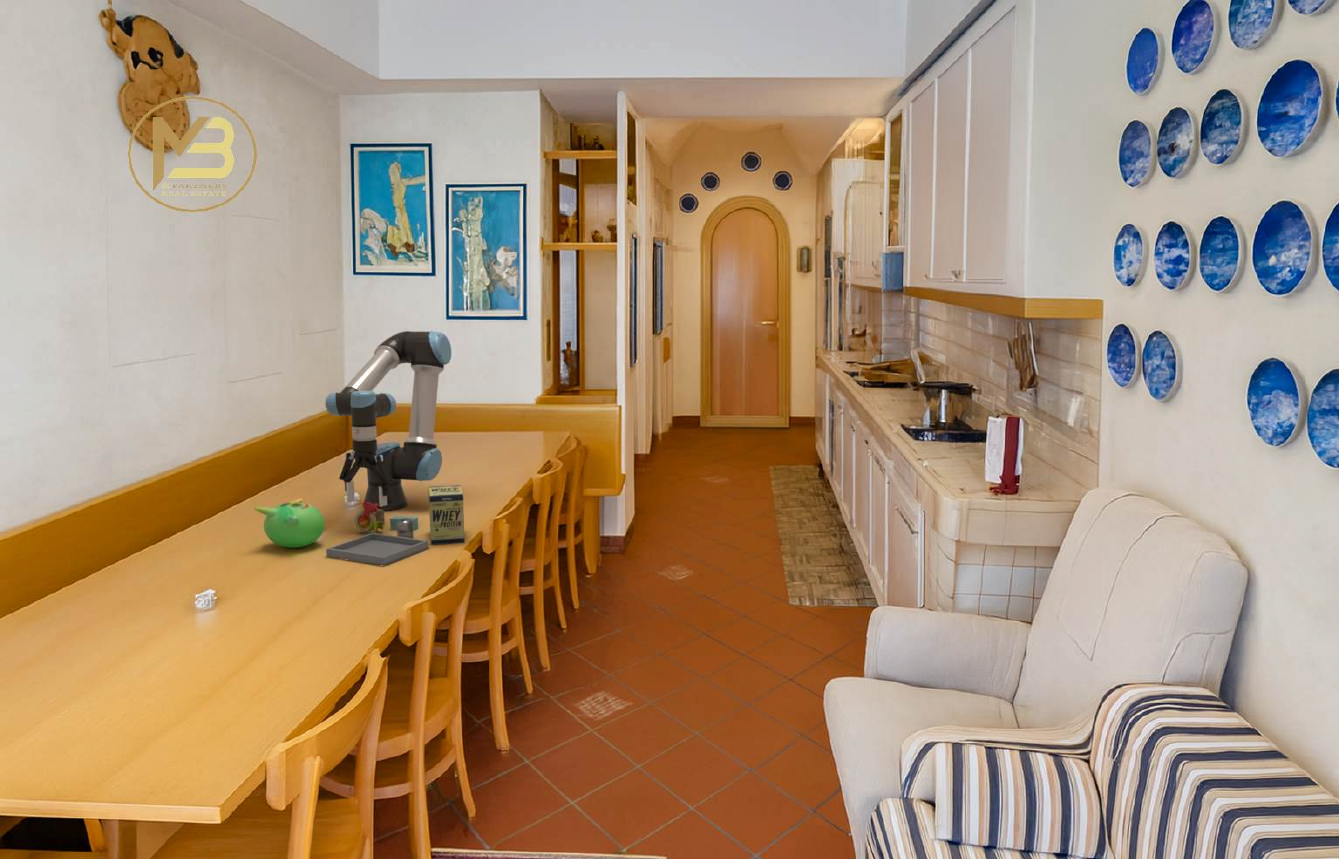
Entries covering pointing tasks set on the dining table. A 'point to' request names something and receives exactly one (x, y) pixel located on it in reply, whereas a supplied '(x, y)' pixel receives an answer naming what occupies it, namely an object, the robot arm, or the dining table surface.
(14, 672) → the dining table surface
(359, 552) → the tray
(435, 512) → the protein box
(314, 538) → the green rounded blob
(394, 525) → the teal brick
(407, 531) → the metal cylinder
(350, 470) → the robot arm
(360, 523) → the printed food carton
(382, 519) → the walnut cube
